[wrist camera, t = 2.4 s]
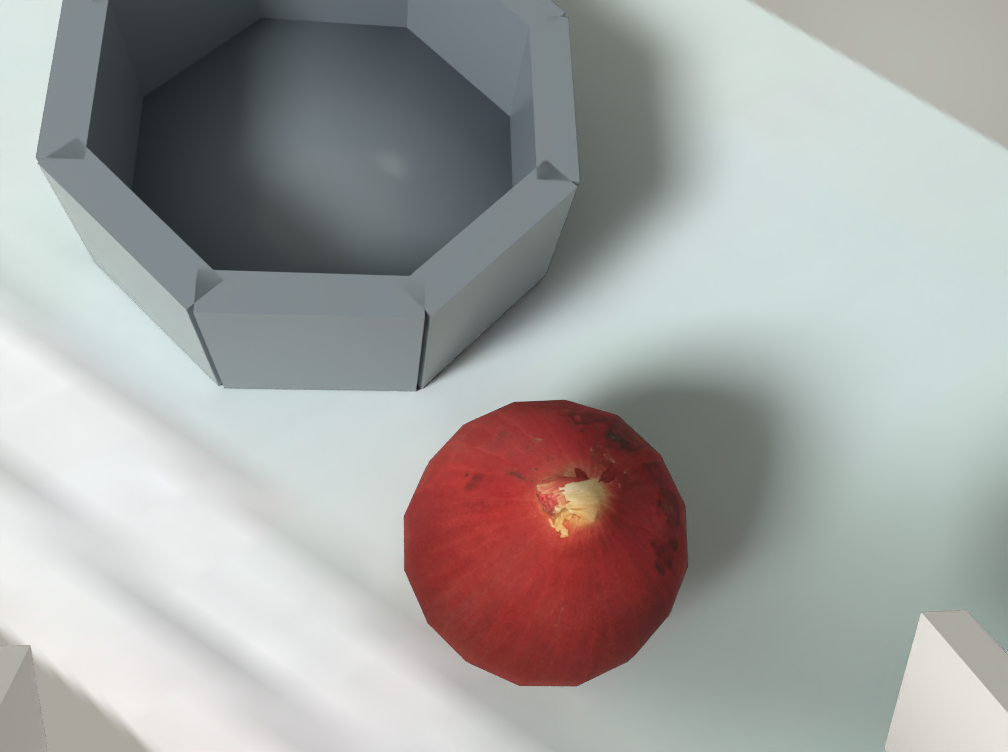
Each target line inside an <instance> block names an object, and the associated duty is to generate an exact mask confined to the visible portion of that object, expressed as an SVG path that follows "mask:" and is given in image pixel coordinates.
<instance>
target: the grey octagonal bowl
mask: <svg viewBox="0 0 1008 752" xmlns="http://www.w3.org/2000/svg"><path fill="white" fill-rule="evenodd" d="M565 13H566V12H565V11H563V10H562V9H561V8H560V7H559V6H557V5H556V4H555V3H554V2H553V1H551V0H63V2H62V8H61V14H60V20H59V26H58V31H57V37H56V43H55V49H54V55H53V60H52V66H51V72H50V78H49V83H48V89H47V95H46V101H45V107H44V112H43V118H42V124H41V130H40V136H39V141H38V147H37V153H36V158H37V160H38V162H39V163H38V164H39V166H40V168H41V170H42V171H43V173H44V175H45V177H46V178H47V180H48V182H49V184H50V185H51V187H52V189H53V191H54V192H55V194H56V196H57V198H58V199H59V201H60V203H61V205H62V206H63V208H64V210H65V212H66V213H67V215H68V217H69V219H70V220H71V222H72V224H73V226H74V227H75V229H76V231H77V233H78V234H79V236H80V238H81V240H82V241H83V243H84V245H85V247H86V248H87V250H88V252H89V254H90V255H91V257H92V259H93V260H94V262H95V263H96V264H97V265H98V266H99V267H100V268H101V269H102V270H103V271H104V272H105V273H106V274H107V275H108V276H109V277H110V278H111V279H112V280H113V281H114V282H115V283H116V284H117V285H118V286H119V287H120V288H121V289H122V290H123V291H124V292H125V293H126V294H127V295H128V296H129V297H130V298H131V299H132V300H133V301H134V302H135V303H136V304H137V305H138V306H139V307H140V308H141V309H142V310H143V311H144V312H145V313H146V314H147V315H148V316H149V317H150V318H151V319H152V320H153V321H154V322H155V323H156V324H157V325H158V326H159V327H160V328H161V329H162V330H163V331H164V332H165V333H166V334H167V335H168V336H169V337H170V338H171V339H172V340H173V341H174V342H175V343H176V344H177V345H178V346H179V347H180V348H181V349H182V350H183V351H184V352H185V353H186V354H187V355H188V356H189V357H190V358H191V359H192V360H193V361H194V362H195V363H196V364H197V365H198V366H199V367H200V368H201V369H202V370H203V371H204V372H205V373H206V374H207V375H208V376H209V377H210V378H211V379H212V380H213V381H214V382H215V383H216V384H217V385H218V386H219V385H220V384H223V386H224V388H238V389H304V390H370V391H416V387H417V385H418V386H419V387H420V388H421V389H422V388H423V387H425V386H426V385H427V384H428V383H429V382H430V381H431V380H432V379H433V378H434V377H435V376H437V375H438V374H439V373H440V372H441V371H442V370H443V369H444V368H445V367H446V366H447V365H448V364H450V363H451V362H452V361H453V360H454V359H455V358H456V357H457V356H458V355H459V354H460V353H462V352H463V351H464V350H465V349H466V348H467V347H468V346H469V345H470V344H471V343H472V342H474V341H475V340H476V339H477V338H478V337H479V336H480V335H481V334H482V333H483V332H484V331H486V330H487V329H488V328H489V327H490V326H491V325H492V324H493V323H494V322H495V321H496V320H497V319H499V318H500V317H501V316H502V315H503V314H504V313H505V312H506V311H507V310H508V309H509V308H511V307H512V306H513V305H514V304H515V303H516V302H517V301H518V300H519V299H520V298H521V297H523V296H524V295H525V294H526V293H527V292H528V291H529V290H530V289H531V288H532V287H533V286H535V285H536V284H537V283H538V282H539V281H540V280H541V279H542V278H543V277H544V276H545V275H546V272H547V270H548V267H549V265H550V262H551V259H552V256H553V253H554V251H555V248H556V245H557V242H558V240H559V237H560V234H561V231H562V229H563V226H564V223H565V220H566V218H567V215H568V212H569V209H570V206H571V204H572V201H573V198H574V195H575V193H576V190H577V187H578V184H579V182H580V180H579V165H578V151H577V136H576V122H575V107H574V93H573V78H572V64H571V49H570V35H569V20H568V17H565Z"/></svg>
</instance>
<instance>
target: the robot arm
mask: <svg viewBox="0 0 1008 752" xmlns="http://www.w3.org/2000/svg"><path fill="white" fill-rule="evenodd" d="M884 749H885V750H886V752H1008V655H1007V654H1006V652H1005V651H1004V650H1003V649H1002V648H1001V647H1000V646H999V645H998V644H997V643H996V642H995V641H994V640H993V639H992V637H991V636H990V635H989V634H988V633H987V632H986V631H985V630H984V629H983V628H982V627H981V626H980V625H979V623H978V622H977V621H976V620H975V619H974V618H973V617H972V616H971V615H970V614H969V613H968V612H967V611H940V612H921V615H920V619H919V622H918V626H917V630H916V633H915V637H914V641H913V644H912V648H911V652H910V655H909V659H908V663H907V666H906V670H905V674H904V677H903V681H902V685H901V688H900V692H899V696H898V699H897V703H896V707H895V710H894V714H893V718H892V721H891V725H890V729H889V732H888V736H887V740H886V743H885V747H884ZM0 752H48V748H47V742H46V736H45V730H44V724H43V718H42V712H41V706H40V700H39V694H38V688H37V682H36V676H35V670H34V664H33V658H32V652H31V646H30V645H15V646H0Z"/></svg>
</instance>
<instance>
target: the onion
mask: <svg viewBox="0 0 1008 752" xmlns="http://www.w3.org/2000/svg"><path fill="white" fill-rule="evenodd" d="M687 567H688V554H687V530H686V510H685V504H684V502H683V500H682V498H681V496H680V494H679V492H678V490H677V488H676V486H675V484H674V482H673V480H672V477H671V475H670V473H669V471H668V469H667V467H666V465H665V463H664V461H663V459H662V457H661V455H660V454H659V453H658V452H657V451H656V450H655V449H654V448H653V447H651V446H650V445H649V444H648V443H647V442H646V441H645V440H644V439H643V438H642V437H641V436H640V435H639V434H637V433H636V432H635V431H634V430H633V429H632V428H631V427H630V426H629V425H628V424H627V423H626V422H625V421H623V420H622V419H621V418H620V417H619V416H618V415H614V414H611V413H608V412H604V411H601V410H597V409H594V408H591V407H587V406H584V405H581V404H577V403H574V402H571V401H567V400H550V401H528V402H513V403H511V404H508V405H506V406H504V407H502V408H499V409H497V410H495V411H493V412H490V413H488V414H486V415H484V416H481V417H479V418H477V419H475V420H472V421H470V422H468V423H466V424H464V425H463V426H462V427H461V428H460V429H459V430H458V431H457V432H456V433H455V434H454V436H453V437H452V438H451V439H450V440H449V441H448V442H447V443H446V444H445V445H444V446H443V447H442V448H441V449H440V450H439V451H438V453H437V454H436V455H435V456H434V457H433V458H432V459H431V460H430V461H429V463H428V465H427V467H426V468H425V470H424V473H423V475H422V477H421V479H420V481H419V484H418V486H417V488H416V490H415V493H414V495H413V497H412V499H411V502H410V504H409V506H408V508H407V510H406V513H405V515H404V571H405V573H406V575H407V577H408V579H409V582H410V584H411V586H412V588H413V591H414V593H415V595H416V597H417V600H418V602H419V604H420V606H421V609H422V611H423V613H424V616H425V618H426V620H427V623H428V624H429V625H430V626H431V627H432V628H433V629H434V630H435V631H436V632H437V633H438V634H439V635H440V636H441V637H442V638H443V639H444V640H445V641H446V642H447V643H448V644H449V645H450V646H451V647H452V648H453V649H454V650H455V651H456V652H457V653H458V654H459V655H460V656H461V657H462V658H463V659H464V660H465V661H466V662H468V663H470V664H472V665H475V666H477V667H479V668H481V669H483V670H486V671H488V672H490V673H492V674H495V675H497V676H499V677H501V678H503V679H506V680H508V681H510V682H512V683H514V684H517V685H519V686H578V685H580V684H583V683H585V682H587V681H589V680H591V679H593V678H595V677H597V676H599V675H601V674H603V673H605V672H607V671H609V670H611V669H613V668H615V667H618V666H620V665H622V664H624V663H626V662H628V661H629V660H630V659H631V658H632V657H633V656H634V655H635V654H636V653H637V652H638V651H639V650H640V649H641V647H642V646H643V645H644V644H645V643H646V642H647V640H648V639H649V638H650V637H651V636H652V634H653V633H654V632H655V631H656V630H657V629H658V627H659V626H660V625H661V624H662V623H663V622H664V620H665V619H666V618H667V617H668V616H669V614H670V612H671V609H672V607H673V604H674V602H675V599H676V596H677V594H678V591H679V588H680V586H681V583H682V580H683V578H684V575H685V573H686V570H687Z"/></svg>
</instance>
